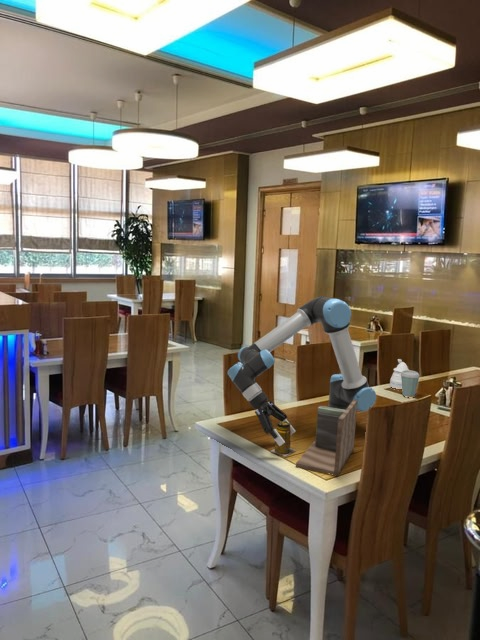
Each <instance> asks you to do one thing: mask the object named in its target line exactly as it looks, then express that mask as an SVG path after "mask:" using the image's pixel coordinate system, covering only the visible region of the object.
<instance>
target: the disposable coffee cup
mask: <svg viewBox="0 0 480 640" xmlns="http://www.w3.org/2000/svg"><path fill="white" fill-rule="evenodd" d="M401 379H402V391H401V393H402V396H403V395H405V396H414V397H416V392H417V387H418V384H419V380H420V374H419V372H418V371H415V370H410V369H408V370H404V371H402V373H401Z"/></svg>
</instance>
